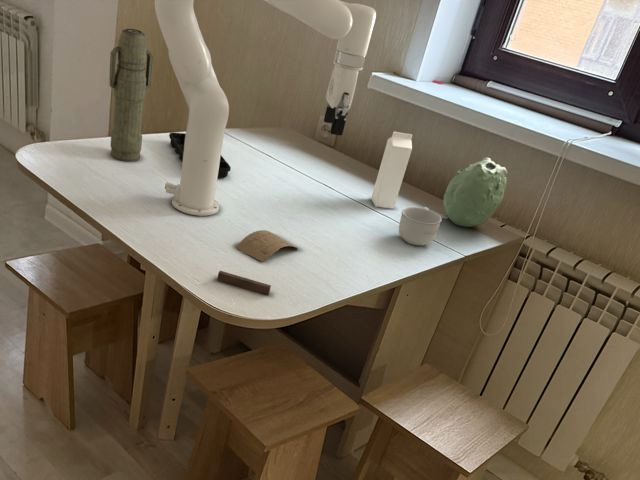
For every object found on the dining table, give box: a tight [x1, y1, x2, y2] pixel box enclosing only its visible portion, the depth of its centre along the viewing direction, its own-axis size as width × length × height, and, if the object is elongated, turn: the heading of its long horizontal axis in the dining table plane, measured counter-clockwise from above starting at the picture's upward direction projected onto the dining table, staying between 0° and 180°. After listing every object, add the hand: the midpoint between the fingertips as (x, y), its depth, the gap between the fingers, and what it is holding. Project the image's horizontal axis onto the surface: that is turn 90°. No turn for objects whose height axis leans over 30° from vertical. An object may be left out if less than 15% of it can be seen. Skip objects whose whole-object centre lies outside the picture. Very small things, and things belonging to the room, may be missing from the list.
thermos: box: [108, 28, 154, 163], centre depth 193 cm, size 9×12×35 cm
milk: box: [370, 131, 413, 210], centre depth 202 cm, size 6×6×22 cm
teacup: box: [398, 206, 443, 247], centre depth 188 cm, size 14×11×8 cm
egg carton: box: [168, 132, 232, 179], centre depth 209 cm, size 18×30×4 cm, turn 32°
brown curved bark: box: [236, 229, 300, 262], centre depth 168 cm, size 14×10×3 cm
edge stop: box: [216, 270, 272, 296], centre depth 151 cm, size 12×1×2 cm, turn 75°
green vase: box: [442, 156, 508, 228], centre depth 200 cm, size 16×19×20 cm
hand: (332, 128), depth 178 cm, fingers open, 9 cm apart
